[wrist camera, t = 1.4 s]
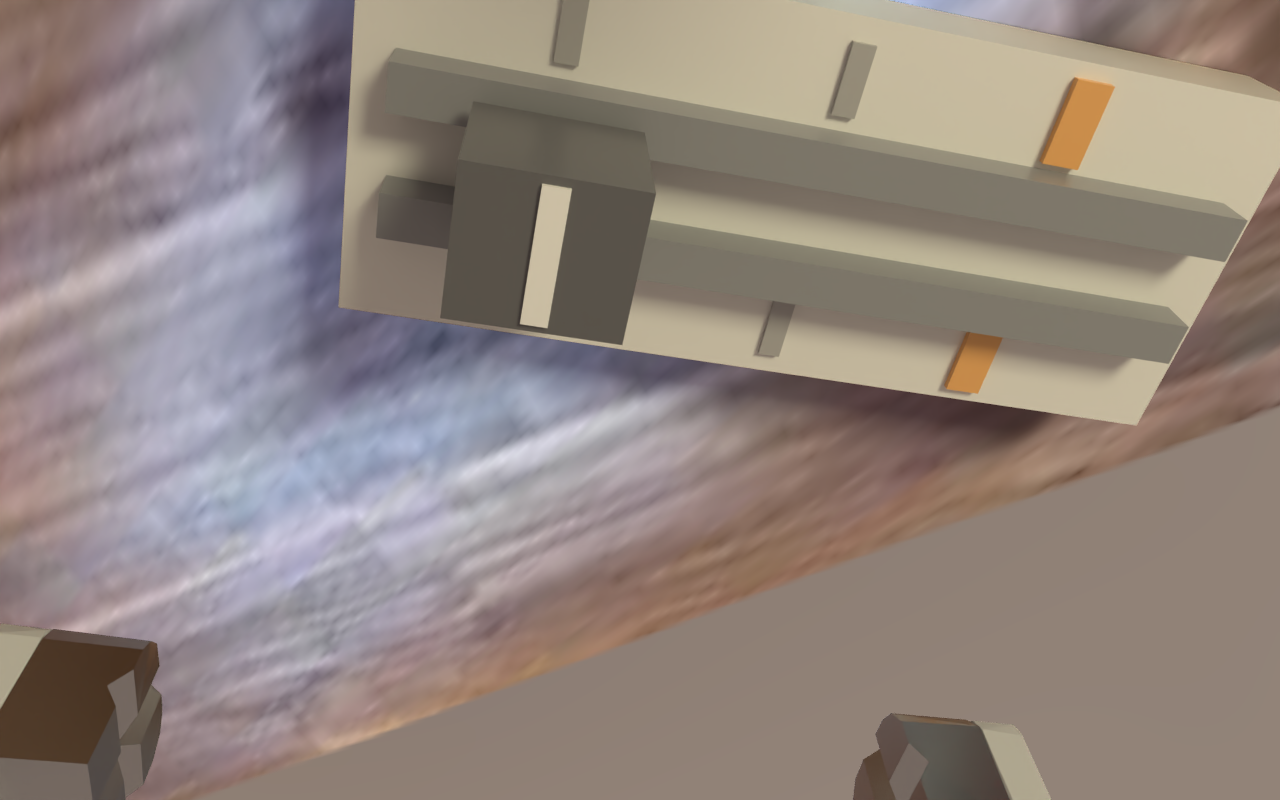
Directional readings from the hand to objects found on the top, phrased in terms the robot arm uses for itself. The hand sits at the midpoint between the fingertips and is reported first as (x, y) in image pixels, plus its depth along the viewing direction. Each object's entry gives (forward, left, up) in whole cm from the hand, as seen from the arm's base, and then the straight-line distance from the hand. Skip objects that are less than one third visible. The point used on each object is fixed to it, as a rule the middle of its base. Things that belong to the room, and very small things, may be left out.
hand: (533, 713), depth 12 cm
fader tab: (0, 0, -17) cm, 17 cm away
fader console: (+7, 0, -20) cm, 22 cm away
